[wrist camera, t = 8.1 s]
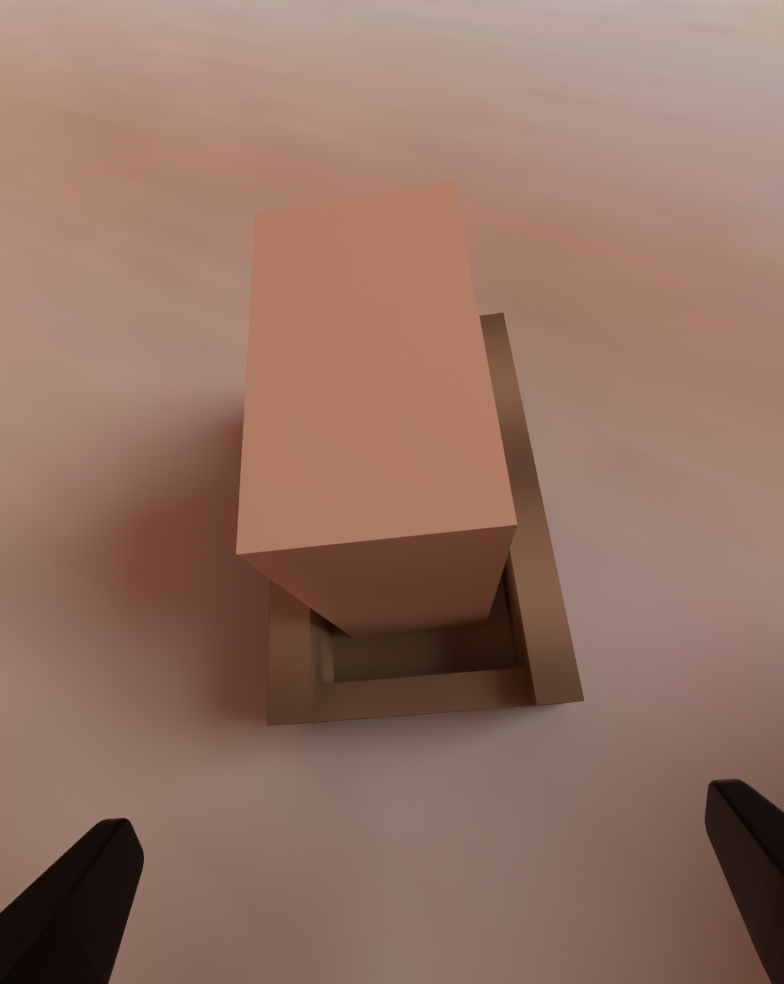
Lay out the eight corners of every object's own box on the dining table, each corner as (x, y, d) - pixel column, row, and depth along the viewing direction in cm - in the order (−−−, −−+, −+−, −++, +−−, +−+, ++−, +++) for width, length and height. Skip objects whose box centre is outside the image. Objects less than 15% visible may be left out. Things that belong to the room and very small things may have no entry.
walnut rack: (566, 702, 17) (596, 699, 13) (298, 723, 17) (255, 726, 14) (502, 378, 22) (511, 311, 18) (299, 404, 23) (269, 345, 19)
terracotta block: (485, 625, 17) (517, 524, 8) (353, 638, 17) (235, 554, 8) (456, 421, 20) (454, 182, 11) (345, 435, 21) (255, 213, 11)
